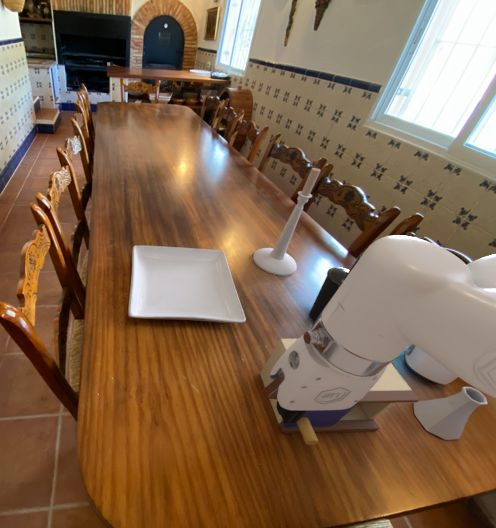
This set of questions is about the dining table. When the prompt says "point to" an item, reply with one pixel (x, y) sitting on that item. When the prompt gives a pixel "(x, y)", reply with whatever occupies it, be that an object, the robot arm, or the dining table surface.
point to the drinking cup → (329, 289)
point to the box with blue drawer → (368, 407)
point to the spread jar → (427, 366)
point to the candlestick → (285, 237)
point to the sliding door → (317, 422)
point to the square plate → (183, 285)
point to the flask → (449, 412)
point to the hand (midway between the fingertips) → (285, 412)
